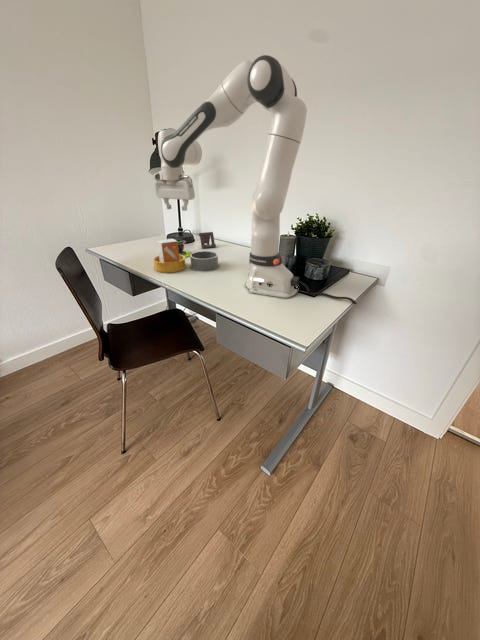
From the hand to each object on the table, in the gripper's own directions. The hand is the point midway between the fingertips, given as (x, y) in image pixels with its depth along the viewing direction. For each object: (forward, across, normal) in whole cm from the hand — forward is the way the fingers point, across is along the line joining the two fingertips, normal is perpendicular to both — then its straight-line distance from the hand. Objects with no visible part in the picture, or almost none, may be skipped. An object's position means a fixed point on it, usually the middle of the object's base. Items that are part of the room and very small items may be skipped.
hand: (176, 209), depth 121 cm
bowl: (+27, +4, +5) cm, 27 cm away
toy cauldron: (+27, +17, -14) cm, 35 cm away
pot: (+27, -9, -6) cm, 29 cm away
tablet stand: (+27, +13, -37) cm, 48 cm away
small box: (+26, +4, +5) cm, 27 cm away
